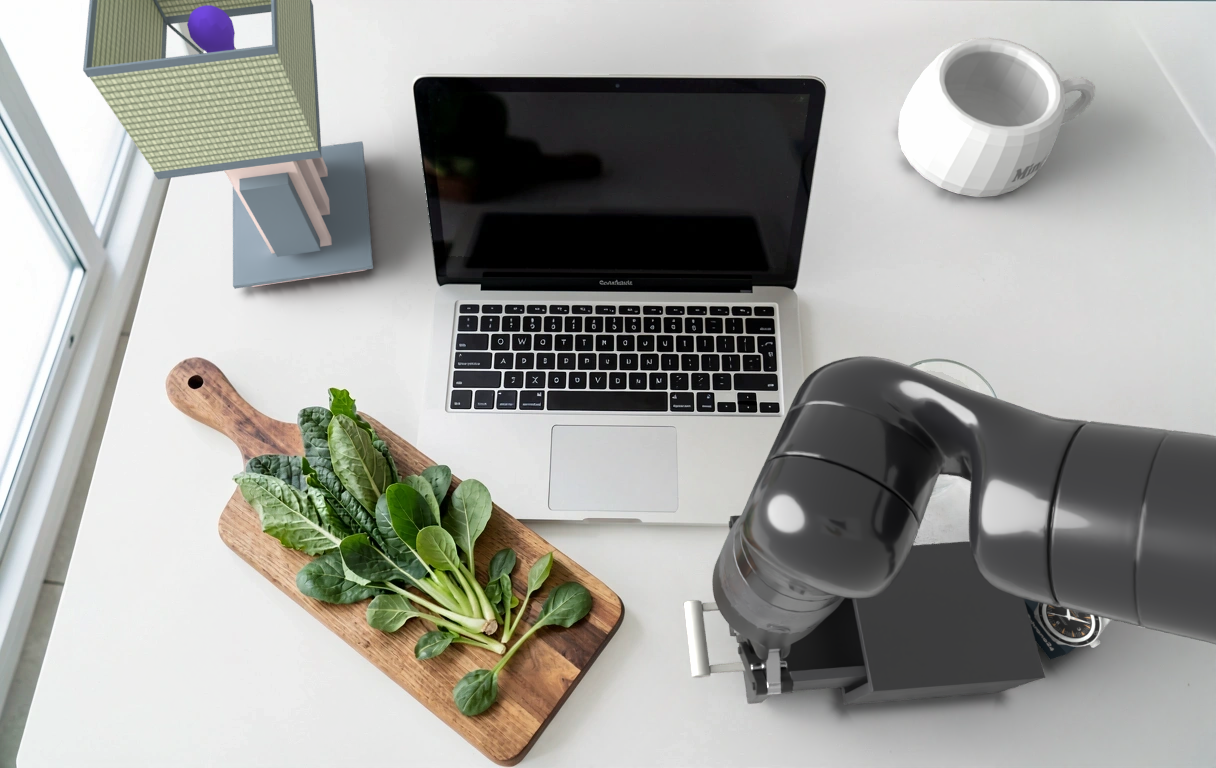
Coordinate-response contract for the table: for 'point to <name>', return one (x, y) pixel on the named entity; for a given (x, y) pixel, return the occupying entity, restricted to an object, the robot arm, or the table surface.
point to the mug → (986, 116)
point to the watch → (1063, 628)
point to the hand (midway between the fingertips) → (742, 625)
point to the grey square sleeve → (942, 632)
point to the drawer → (793, 652)
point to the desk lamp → (238, 128)
